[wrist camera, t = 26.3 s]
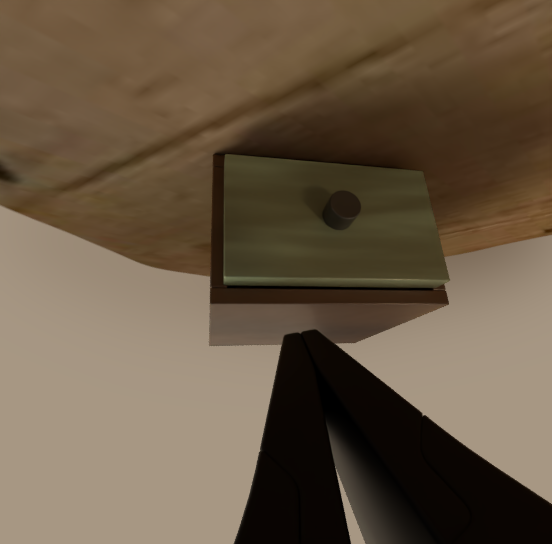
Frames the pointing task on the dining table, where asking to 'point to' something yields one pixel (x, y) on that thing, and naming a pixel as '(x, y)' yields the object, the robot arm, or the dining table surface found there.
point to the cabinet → (301, 301)
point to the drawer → (328, 227)
